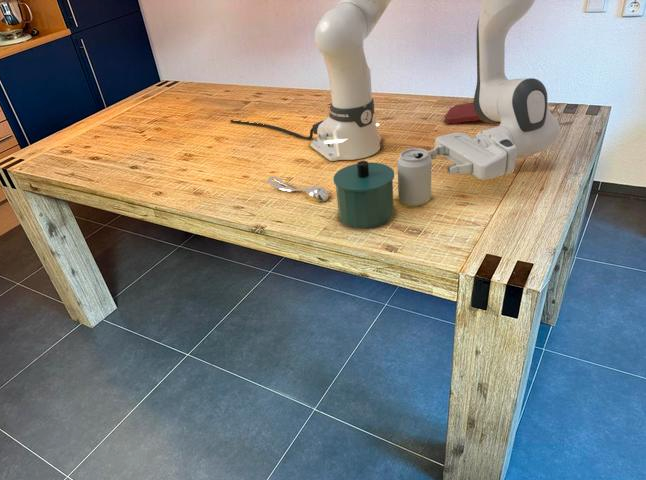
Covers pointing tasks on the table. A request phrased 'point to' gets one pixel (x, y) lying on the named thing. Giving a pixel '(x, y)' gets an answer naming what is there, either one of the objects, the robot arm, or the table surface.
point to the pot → (365, 207)
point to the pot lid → (363, 177)
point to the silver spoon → (313, 191)
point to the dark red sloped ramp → (461, 113)
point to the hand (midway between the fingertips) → (437, 163)
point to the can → (414, 177)
